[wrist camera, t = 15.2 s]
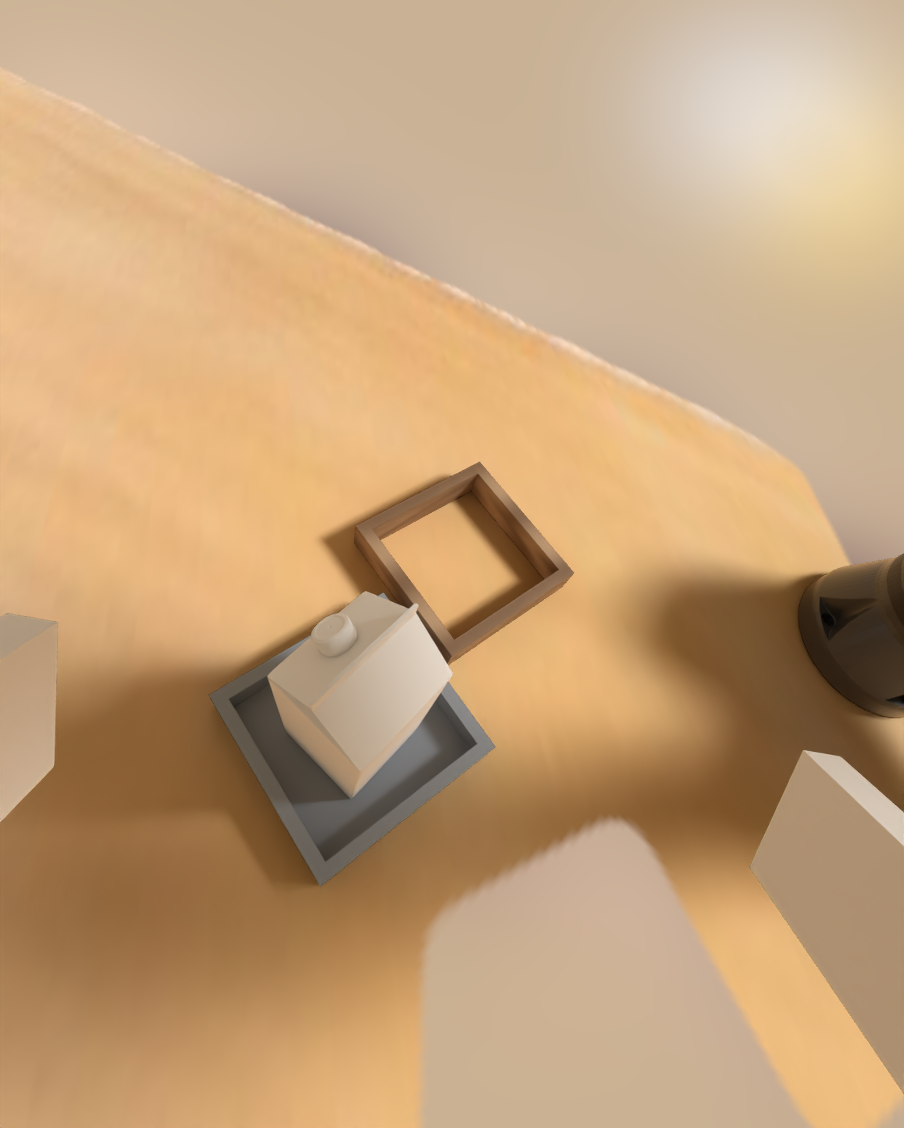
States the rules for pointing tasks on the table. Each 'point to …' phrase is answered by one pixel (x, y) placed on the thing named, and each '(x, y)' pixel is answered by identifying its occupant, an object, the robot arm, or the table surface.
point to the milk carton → (359, 687)
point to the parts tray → (313, 800)
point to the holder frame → (508, 520)
